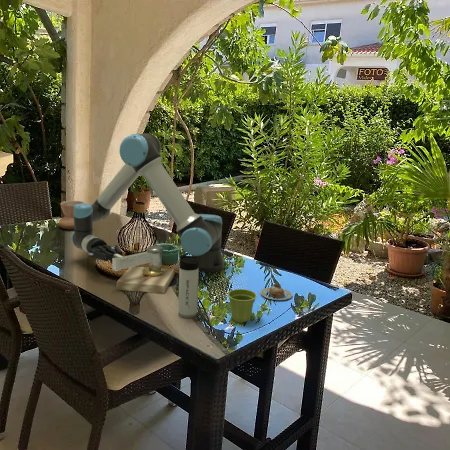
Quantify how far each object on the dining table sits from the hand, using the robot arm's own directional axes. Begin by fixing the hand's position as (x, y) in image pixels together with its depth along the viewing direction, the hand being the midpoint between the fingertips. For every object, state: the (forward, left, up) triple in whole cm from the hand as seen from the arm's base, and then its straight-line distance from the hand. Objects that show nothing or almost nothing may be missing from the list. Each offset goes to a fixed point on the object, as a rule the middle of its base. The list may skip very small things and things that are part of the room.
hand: (124, 261), depth 173 cm
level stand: (-7, -6, -10) cm, 13 cm away
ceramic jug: (+52, -74, -10) cm, 91 cm away
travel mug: (-27, +19, -10) cm, 35 cm away
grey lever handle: (-5, -3, -6) cm, 9 cm away
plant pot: (-45, +19, -10) cm, 50 cm away
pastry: (-57, -4, -11) cm, 58 cm away
